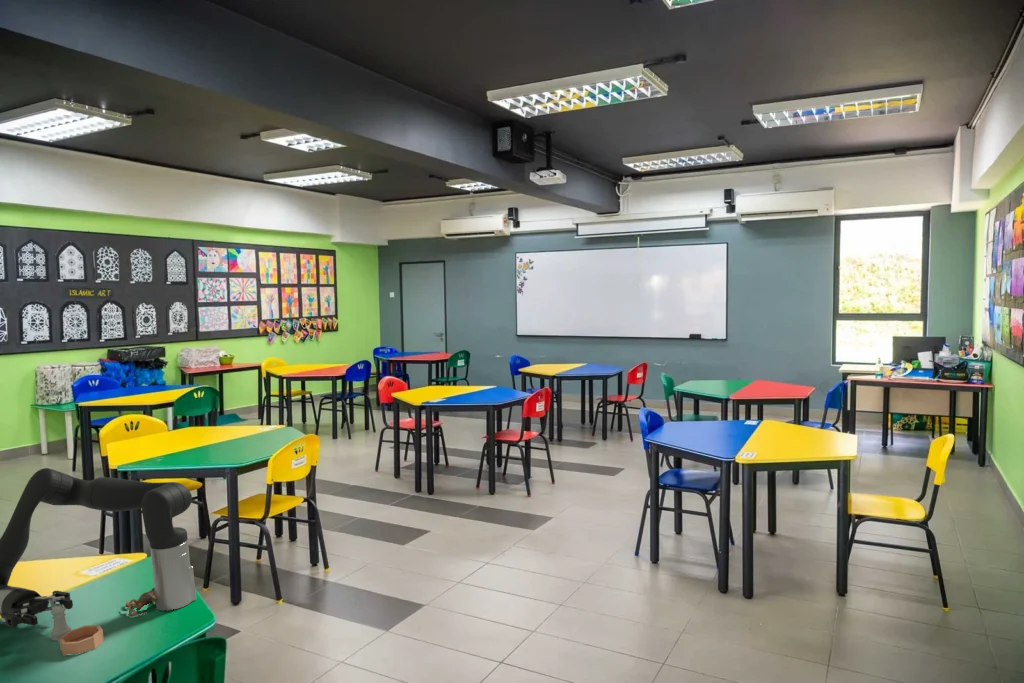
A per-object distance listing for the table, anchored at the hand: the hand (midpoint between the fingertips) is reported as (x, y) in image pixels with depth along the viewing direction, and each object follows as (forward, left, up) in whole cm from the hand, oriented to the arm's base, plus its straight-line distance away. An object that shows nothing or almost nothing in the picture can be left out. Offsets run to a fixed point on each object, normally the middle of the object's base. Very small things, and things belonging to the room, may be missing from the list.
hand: (53, 612), depth 170 cm
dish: (-3, +12, -6) cm, 13 cm away
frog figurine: (-20, 0, -7) cm, 21 cm away
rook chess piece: (-1, +2, -6) cm, 7 cm away
